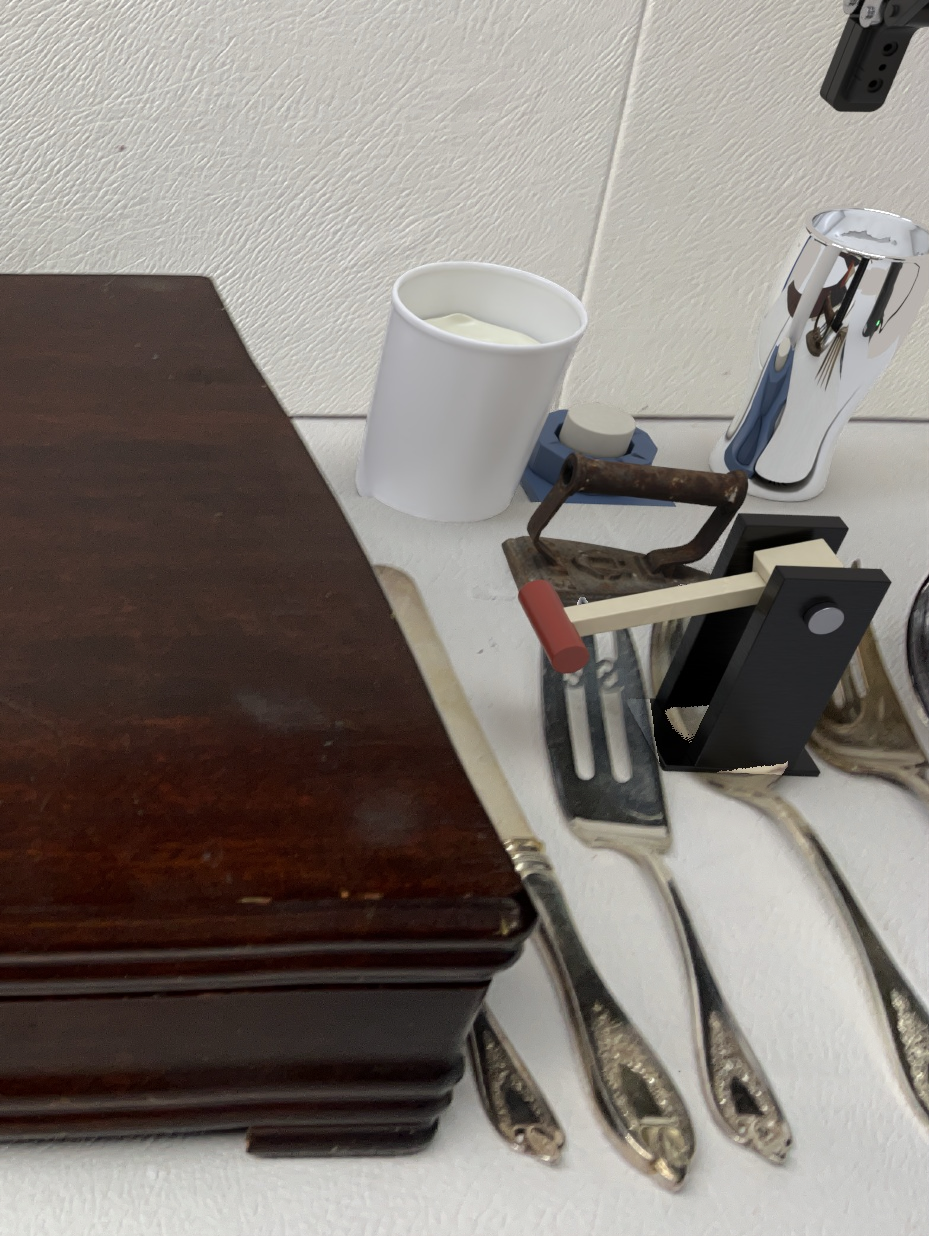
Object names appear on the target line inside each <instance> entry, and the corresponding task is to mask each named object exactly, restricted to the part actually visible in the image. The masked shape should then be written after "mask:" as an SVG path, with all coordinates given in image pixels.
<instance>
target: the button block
mask: <svg viewBox="0 0 929 1236" xmlns="http://www.w3.org/2000/svg"><path fill="white" fill-rule="evenodd" d="M568 410H569V409H564V408H563V409H558V410H557V409H556V410H554V411H550V413H549V415H548V417H547V420H546V422H545V424H544V427H543V429H542V431H541V434H540V436H539V438H538V441H537V443H536V445H535V448H534V450H533V452H532V455H531V457H530V459H529V462H528V464H527V466H526V469H525V471H524V473H523V475H522V478H521V480H520V482H519V484H520V485H521V487H522V489H523V491H524V492H525V494H526V496H527V498H528V499H529V501H530V503H541V502H542V501H543V500H544V498H545V497H546V496H547V494H548V493H549V492H550V490H551V489H552V488H553V486H554V485H555V484H556V482H557V480H558V479H559V474H560V471H561V467H562V465H563V463H564V461H565V459H566V457H567V456H568V455H569V454H571V453H573V452H575V451H573V450H572V449H570V448H568V447H567V446H565V445H563V444H562V443H561V442H560V440H559V435H560V432H561V429H562V426H563V424H564V421H565V418H566V415H567V413H568ZM658 450H659V449H658V447H657V445H656V443H655V442H654V441H653V439H652V438H651V436H650V435H649V433H648V432H646V431H644V430H642V429H641V428H639V427H637V426H636V428H635V431H634V433H633V436H632V438H631V441H630V443H629V446H628V449H627V451H626V453H625V454H624V455H623V456H622V457H619V458H595V457H592V456H588V455H585V454H583V455H584V456H585V457H587V458H590V459H598V460H605V461H614V462H625V463H634V464H642V465H650V466H653V465H652V464H653V463H654V460H655V458H656V455H657V453H658ZM575 453H577V452H575ZM563 504H572V505H573V504H576V505H603V506H604V505H605V506H607V505H608V506H635V507H636V506H637V507H638V506H639V507H665V508H667V507H669V508H677V505H676V504H675V502H670V501H661V500H652V499H645V498H635V497H625V496H614V495H600V494H588V493H575V494H574V495H573V496H569V497H568V498H567V500H566V501H565V502H564V503H563Z"/></svg>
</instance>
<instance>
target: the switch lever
mask: <svg viewBox="0 0 929 1236" xmlns="http://www.w3.org/2000/svg"><path fill="white" fill-rule="evenodd" d="M776 565H784V566H813V567H843V568H846V567H845V565H844V564H843V563H842V561H841V560H840V559H839V558H838V556H837V554H836V555H835V554H834V552H833V551H832V550H831V548H830V547H829V546H828V544H827V543H826V542H825V541H824V539H817V540H812V541H806V542H801V543H796V544H791V545H785V546H780V547H775V548H770V549H764V550H759V551H755V552H754V559H753V571H752V572H751V573H745V574H740V575H735V576H729V577H724V578H719V579H713V580H708V581H703V582H698V583H692V584H687V585H682V586H676V587H671V588H666V589H660V590H655V591H650V592H644V593H639V594H634V595H628V596H623V597H618V598H612V599H607V600H602V601H597V602H591V603H586V604H581V605H575V606H570V607H565V608H564V606H563V604H562V602H561V600H560V598H559V596H558V595H557V593H556V591H555V589H554V587H553V585H552V584H551V583H550V582H548V581H545V580H534V581H531V582H529V583H527V584H525V585H524V586H523V587H522V588H521V589H520V591H519V592H518V593H517V600H518V603H519V604H520V606H521V608H522V610H523V612H524V614H525V616H526V618H527V620H528V622H529V624H530V626H531V628H532V630H533V632H534V633H535V636H536V638H537V640H538V641H539V643H540V645H541V648H542V649H543V651H544V654H545V655H546V657H547V660H548V662H549V663H550V665H551V667H552V669H553V670H554V671H556V672H557V673H560V674H568V675H569V674H573V673H576V672H579V671H580V670H582V669H583V668H584V667H585V666H586V665H587V664H588V663H589V661H590V652H589V650H588V648H587V647H586V644H585V642H584V641H583V639H582V637H588V636H592V635H598V634H603V633H609V632H615V631H619V630H624V629H625V630H626V629H631V628H635V627H642V626H646V625H647V626H648V625H652V624H657V623H664V622H667V621H669V622H670V621H674V620H680V619H684V618H691V617H692V616H696V615H701V614H707V613H712V612H718V611H723V610H728V609H734V608H739V607H745V606H750V605H756V604H757V603H758V601H759V599H760V597H761V595H762V593H763V591H764V589H765V587H766V584H767V582H768V580H769V578H770V576H771V574H772V572H773V570H774V568H775V566H776Z"/></svg>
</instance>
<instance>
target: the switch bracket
mask: <svg viewBox="0 0 929 1236" xmlns="http://www.w3.org/2000/svg"><path fill="white" fill-rule="evenodd" d="M849 530H850V528H849V527H848V525H847V524H846V522H845V521H844V520H843V519H842V517H840V516H839V515H812V514H810V515H809V514H805V515H804V514H783V513H782V514H781V513H748V512H737V513H736V517H735V519H734V521H733V523H732V526H731V528H730V530H729V533H728V534H727V537H726V538H725V541H724V544H723V546H722V548H721V550H720V552H719V555H718V557H717V559H716V562H715V563H714V565H713V568H712V570H711V572H710V574H711V575H710V577H709V579H708V580H713V579H719V578H724V577H729V576H735V575H740V574H745V573H751V572H752V571H753V559H754V552H755V551H759V550H764V549H770V548H775V547H780V546H785V545H791V544H796V543H801V542H806V541H812V540H817V539H824V541H825V542H826V543H827V544H828V546H829V547H830V548H831V550H832V551H833V552H834V554H835V555H836V556H837V554H838V552H839V550H840V548H841V546H842V544H843V542H844V540H845V538H846V536H847V534H848V532H849ZM892 583H893V582H892V580H891V579H890V578H889V576H888V575H887V574H886V572H885V571H884V570H883V569H882V568H872V567H871V568H869V567H845V568H843V567H813V566H784V565H776V566H775V568H774V570H773V572H772V574H771V576H770V578H769V580H768V582H767V584H766V587H765V589H764V591H763V593H762V595H761V597H760V599H759V601H758V603H757V604H756V605H750V606H745V607H739V608H734V609H728V610H723V611H718V612H712V613H707V614H701V615H696V616H691V617H690V619H689V622H688V624H687V625H686V628H685V631H684V633H683V635H682V637H681V640H680V642H679V644H678V646H677V648H676V650H675V652H674V655H673V658H672V659H671V662H670V664H669V665H668V669H667V671H666V673H665V675H664V677H663V680H662V682H661V684H660V686H659V689H658V691H657V693H656V695H655V698H654V697H651V698H650V697H649V698H650V703H651V710H652V716H653V724H654V737H655V741H656V746H657V753H658V756H659V762H660V765H659V767H660V769H661V770H662V771H663V772H674V773H675V772H677V773H702V774H704V773H705V774H718V773H717V772H719V771H721V770H722V771H727V770H729V771H732V770H734V769H736V770H737V769H738V768H742V769H743V768H745V769H746V768H750V767H752V768H753V767H757V766H761V767H762V766H764V765H765V766H771V765H772V766H774V765H776V764H784V763H786V762H787V761H788V767H787V768H786V769H785V771H784V773H783V774H782V776H781V777H804V778H805V777H807V778H818V777H819V776H820V775H821V770H820V769H819V767H818V765H817V764H816V762H815V761H814V760H813V759H814V758H813V757H812V756H811V755H810V754H809V752H808V750H807V749H806V746H807V744H808V742H809V741H810V738H811V736H812V734H813V732H814V730H815V728H816V727H817V725H818V723H819V721H820V719H821V717H822V716H823V713H824V712H825V710H826V707H827V706H828V704H829V702H830V700H831V698H832V696H833V694H834V693H835V691H836V689H837V687H838V685H839V683H840V682H841V679H842V678H843V675H844V673H845V672H846V670H847V668H848V666H849V664H850V663H851V661H852V658H853V656H854V655H855V653H856V651H857V649H858V647H859V646H860V644H861V641H862V640H863V638H864V636H865V634H866V632H867V631H868V628H869V626H870V624H871V623H872V621H873V619H874V617H875V615H876V613H877V612H878V610H879V607H880V606H881V604H882V603H883V600H884V598H885V596H886V595H887V592H888V591H889V589H890V587H891V585H892ZM702 705H703V706H707V705H709V707H708V709H707V711H706V713H705V715H704V717H703V719H702V721H701V723H700V725H699V728H698V730H697V732H696V734H695V736H693V737H694V738H693V737H691V738H693V739H691V738H689V739H691V740H689V739H687V738H688V737H686V738H685V739H687V740H685V739H683V738H684V737H681V736H683V735H680V734H678V733H679V732H676V731H677V730H676V731H675V729H672V728H674V727H672V726H673V725H671V723H670V721H668V720H669V719H667V718H668V717H667V715H666V714H665V713H666V712H665V710H666V711H667V709H670V708H671V707H672V708H673V707H681V708H682V707H685V708H686V707H691V706H692V707H694V706H697V707H698V706H702ZM681 734H682V733H681ZM688 735H689V734H688ZM692 735H693V734H692ZM688 740H689V741H688ZM690 741H692V742H690ZM689 742H690V743H689Z"/></svg>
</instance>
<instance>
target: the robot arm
mask: <svg viewBox="0 0 929 1236" xmlns="http://www.w3.org/2000/svg"><path fill="white" fill-rule="evenodd" d="M842 11H843V13H844V15H848V18H847V20H846V21H845V22H846V23H845V25H844V28H843V31H842V33H841V35H840V37H839V41H838V43H837V46H836V48H835V51H834V53H833V56H832V58H831V61H830V64H829V67H828V68H827V71H826V74H825V76H824V78H823V82H822V84H821V86H820V89H819V96H820V98H821V99H822V100H824V101H825V102H826V103H827V104H828V105H829V106H830V107H832V109H834V110H835V111H837V112H840V113H873V112H875V111H878V110H879V109H881V107H883V105H884V104H885V103H886V100H887V97H888V95H889V93H890V92H891V88H892V87H893V84H894V82H895V80H896V79H895V78H896V77H897V74H898V71H899V69H900V67H901V64H902V62H903V59H904V57H905V55H906V52H907V50H908V48H909V46H910V42H911V41H912V39H913V36H914V35H915V34H916V32H917V31H918V30H920V29H924V28H929V0H842Z"/></svg>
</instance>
